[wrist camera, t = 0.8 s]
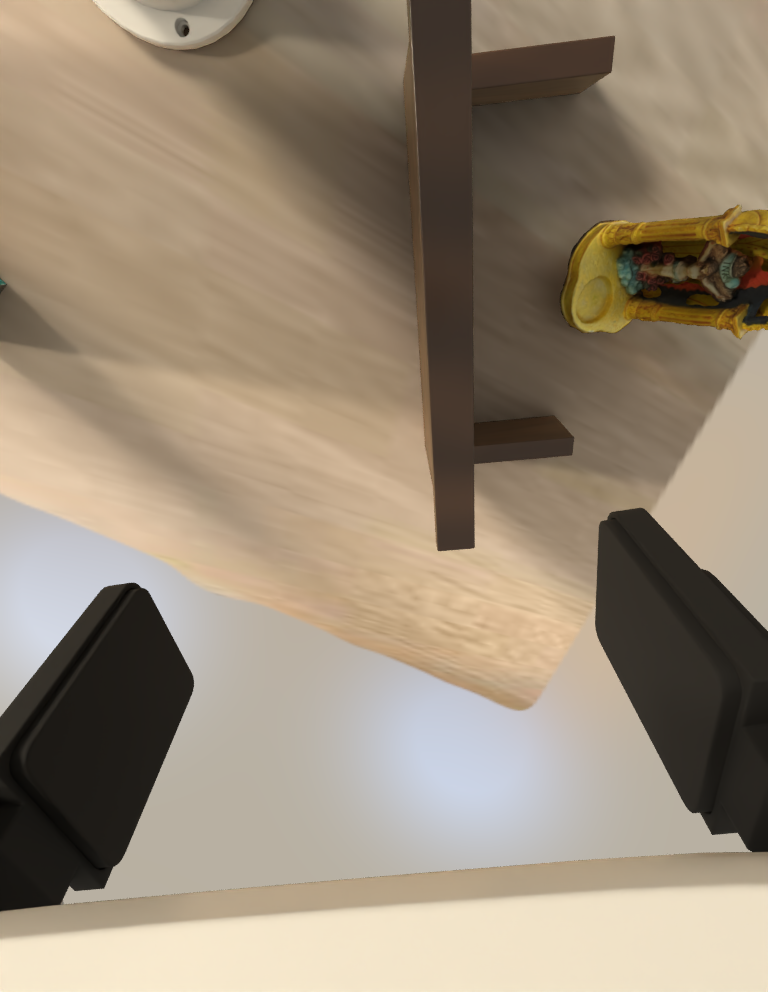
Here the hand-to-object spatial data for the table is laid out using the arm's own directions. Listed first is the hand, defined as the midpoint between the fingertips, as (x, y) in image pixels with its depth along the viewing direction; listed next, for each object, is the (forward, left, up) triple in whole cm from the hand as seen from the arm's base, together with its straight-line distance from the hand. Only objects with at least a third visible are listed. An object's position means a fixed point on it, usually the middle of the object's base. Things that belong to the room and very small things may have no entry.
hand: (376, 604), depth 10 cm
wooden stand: (-2, +9, -33) cm, 34 cm away
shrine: (-2, +19, -33) cm, 38 cm away
